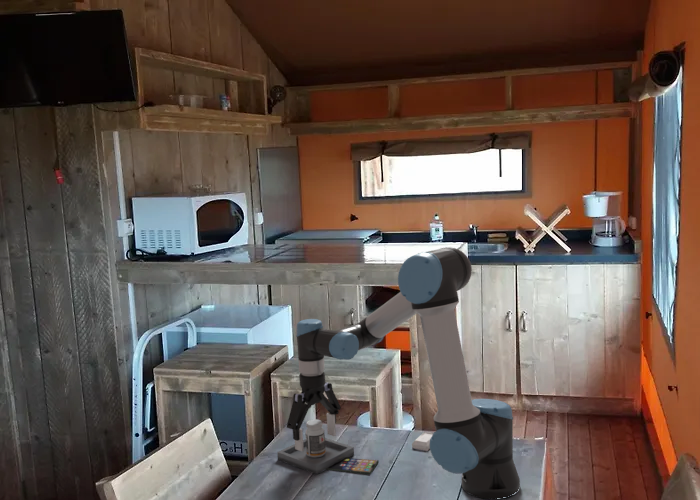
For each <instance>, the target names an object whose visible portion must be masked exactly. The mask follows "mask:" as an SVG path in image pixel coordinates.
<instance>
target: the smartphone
mask: <svg viewBox="0 0 700 500" xmlns="http://www.w3.org/2000/svg"><path fill="white" fill-rule="evenodd" d="M378 464H379V460H378V459H366V458H365V459H363V458H352V457H349V458H345V459H343V460H341V461H339V462H337V463H335V464H334V465H332V466H330V467H328V468H326V470H325V471H331V472H332V471H333V472H343V473H352V474H360V475H361V474H362V475H369V476H370V475H372V473H373V471H374V470H375V468H376V467H377V465H378Z"/></svg>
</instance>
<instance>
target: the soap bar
mask: <svg viewBox="0 0 700 500" xmlns="http://www.w3.org/2000/svg"><path fill="white" fill-rule="evenodd" d="M433 433H434V432H429V431H424V432H423V433H421V434H420V435H419V436H418V437H417V438H416V439H415V440H414V441H413V442H412V443H411V448H412V449H413V450H414V449H416V450H420V451H426V452H427V451H430V439H431V437H432V435H433Z"/></svg>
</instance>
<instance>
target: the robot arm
mask: <svg viewBox="0 0 700 500" xmlns="http://www.w3.org/2000/svg"><path fill="white" fill-rule="evenodd" d="M472 267H473V266H472V264H471V261H470V259H469V257H468V256H467V255H466V254H465V253H464V252H463V251H462V250H461V249H460V250H459V249H458V248H455V247H451V246H450V247H446V246H445V247H440V248H438V249H433V250H428V251H421V252H418V253H417V254H414V255H412V256H410V257H407V259H405V261H403V263H402V265H401V266H400V267H399V271H398V274H397V284H398V288H399V292H398V293H397V294H396V295H394V296H393V297H391V298H390V299H389V300H387V301H386V302H385V303H384V304H382V305H380V306H379V307H378V308H376V309H375V310H374V311H372V313H370V314H368V315H367V316H366V317H365V318H363V319H362V320H361V321H359V322H358V323H355V324H352V325H349V326H345V327H343V328H339V329H335V330H333V329H327V328H324V326H323V322H322V320H320V319H318V318H307V319H302V320H300V321H298V322H297V323H296V335H295V336H296V342H297V356H298V357H297V359H298V372H299V374H298V375H299V376H298V377H299V378H298V379H299V386H300V388H301V392H300V393H293V395H292V398H293V399H292V400H293V401H292V404H291V408H290V413H289V416H288V419H287V422H286V423H287V424H286V428H287V429H290V430H292V439H293V441H294V444H295V449H296V450H299V451H304V448H303V440H304V435H303V428H301V427H302V425H303V422H304V420H305V419H306V416H307V413H308V412H309V410H310V409H311V408H312V406H315V405H316V404H319V403H320V404H321V405H322V406H323V407H324V409H325V410H326V411H327V413H326V429H327V435H329V436H332V437H335V436H337V433H336V431H337V430H336V424H337V415H339V411H340V410H341V405H340V403H339V399H337V396H336V394H335V392H334V389H333V384H332V383H331V382H326V373H325V371H326V369H325V368H326V367H325V357H328V358H332V359H333V358H334V359H337V360H346V361H347V360H348V361H349V360H352V359H354V357H355V356H356V355H357V354H358V351H361V350H363V349H366V348H370V347H373V346H376V345H377V344H379V343H380V342H382V341H383V340H384V337H385V336H386V335H388V334H389V333H391V332H392V331H394V330H395V329H397V328H398V327H400V325H403V324H404V323H405V322H407V321H408V320H410V319H411V318H413V317H414V316H416V315H419V317H420V323H421V324H420V325H421V328H422V334H423V340H424V343H425V348H426V349H425V350H426V355H427V359H428V364H429V370H430V374H431V380H432V385H433V390H434V391H433V392H434V395H435V401H436V406H437V411H436V413H435V414H434V416H433V422H434V428H435V430H434V432H432V433H433V435H432V437H431V439H430V449H429V451H430V453H431V456H432V458H433V459H434V462H436V464H437V465H438V466H441V467H442V469H443V470H444V471H447V472H449V473H451V474H457V475H458V474H459V475H460V474H461V488H462V490H463V491H464V492H466V493H467V494H468V495H471V496H473V497H475V498H480V499H486V500H498V499H497V498H503V497H508V496H510V495H512V494H514V493H515V492H517V491H518V489H519V487H520V488H521V480H520V476H519V473H518V471H517V468H516V464H515V462H514V459H513V458H514V456H513V451H514V450H513V448H514V447H513V446H514V445H513V443H514V442H513V441H514V440H513V439H514V438H513V437H514V436H513V427H514V426H513V420H514V417H513V408H512V407H511V405H509V404H508V403H507V402H505V401H501V400H497V399H493V398H492V399H491V398H474V399H472V396H471V395H472V393H471V388H470V385H469V379H468V374H467V368H466V364H465V358H464V354H463V348H462V343H461V342H462V341H461V338H460V331H459V328H458V323H457V322H458V321H457V317H456V312H455V309H456V307H457V305H458V304H459V302H460V299H459V294H458V291H460V290H462V289H463V288H465V287H466V286H467V285H468V284H469V282H470V280H471V277H472V271H473V269H472ZM324 393H325V394H324ZM508 498H509V497H508Z"/></svg>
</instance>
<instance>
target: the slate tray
mask: <svg viewBox="0 0 700 500" xmlns="http://www.w3.org/2000/svg"><path fill="white" fill-rule="evenodd" d="M303 448H304V451H299V450H296V449H295V443H294V444H292V445H290V446H288V447H284V449H281V450H279V451H277V453H276V454H277V460H278V461H279V462H282V463H285V464H288V465H290V466H293V467H296V468H297V469H298V468H299V469H301V470H304V471H306V472H309V473H311V474H314V475H319V474H321V473H323V472H324V471H327V470H326V468H328V467H330V466H332V465H334V464H335V463H337V462H339V461H341V460H343V459H345V458H352V457H353V456H355V448H354V446H351V445H348V444H344V443H343V442H339V441H336V440H332V439H330V438H326V437H325V450H326V452H325V454H324V455H323V456H321V457H317V458H313V457H309V456H308V455H307V452H306V438H305V439H303Z"/></svg>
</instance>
